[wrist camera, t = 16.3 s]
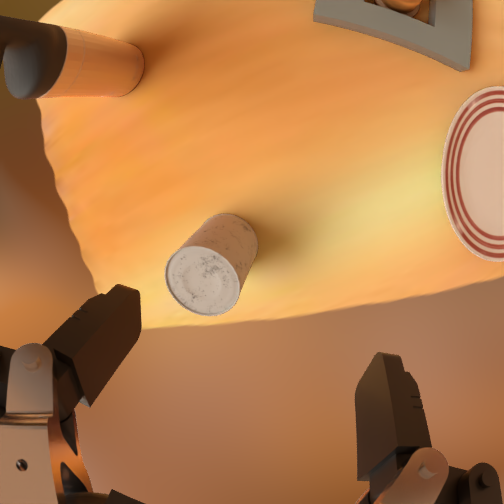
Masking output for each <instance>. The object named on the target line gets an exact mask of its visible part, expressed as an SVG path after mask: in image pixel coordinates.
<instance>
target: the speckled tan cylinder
mask: <svg viewBox="0 0 504 504" xmlns="http://www.w3.org/2000/svg"><path fill="white" fill-rule="evenodd" d="M257 251H258V240H257V236H256V234H255V232H254V230H253V228H252V227H251V226H250V225H249V224H248V223H247V222H246V221H245V220H243V219H242V218H240V217H238V216H235V215H231V214H219V215H215V216H213V217H211V218H209V219H208V220H207V221H205V222H204V224H203V225H202V226H201V227H200V228H199V229H198V230H197V231H196V232H195V233H194V234H193V235H192V236H191V237H190V238H189V239H188V240H187V241H186V242H185V243H184V244H183V245H182V246H181V247H180V248H179V249H178V250H177V251H176V252H175V253H173V254H172V255H171V257H170V258H169V260H168V261H167V264H166V267H165V282H166V285H167V288H168V290H169V292H170V294H171V295H172V297H173V298H174V299H175V300H176V301H177V302H178V303H179V304H180V305H181V306H182V307H184V308H185V309H187V310H189V311H191V312H192V313H195V314H198V315H203V316H217V315H220V314H223V313H225V312H227V311H229V310H230V309H231V308H232V307H233V306H234V305H235V304H236V302H237V300H238V298H239V295H240V292H241V289H242V287H243V284H244V282H245V280H246V277H247V275H248V273H249V270H250V268H251V265H252V263H253V261H254V259H255V257H256V255H257Z"/></svg>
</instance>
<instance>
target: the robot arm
mask: <svg viewBox="0 0 504 504" xmlns="http://www.w3.org/2000/svg"><path fill="white" fill-rule="evenodd" d="M2 60H3V62H4V72H5V80H6V85H7V88H8V89H9V92H10V93H11V94H12V95H13V96H14V97H16V98H19V99H35V98H52V97H83V96H93V97H120V96H123V95H126V94H128V93H129V92H130V91H132V90H133V89H134V88H135V87H136V85H137V84H138V82H139V81H140V79H141V77H142V74H143V70H144V58H143V55H142V53H141V51H140V50H139V49H138V48H137V47H136V46H134V45H132V44H128V43H125V42H122V41H119V40H116V39H112V38H109V37H105V36H101V35H97V34H93V33H89V32H85V31H81V30H77V29H72V28H67V27H62V26H57V25H52V24H46V23H40V22H34V21H27V20H22V19H17V18H11V17H6V16H0V67H1V63H2ZM140 332H141V305H140V293H139V291H138V290H136V289H133V288H130V287H127V286H124V285H121V284H117V285H115V286H114V287H113V288H112V289H111V290H110V291H109V292H108V293H107V294H106V295H105V294H102V293H101V294H99V295H97V296H95V297H93V298H90V299H88V300H87V301H86V302H85V303H84V304H83V305H82V306H81V307H80V308H79V310H77V311H76V312H75V313H74V314H73V315H72V317H70V318H68V320H66V321H65V322H64V323H63V324H62V325H61V326H60V327H59V328H58V329H57V330H56V331H55V332H54V333H53V334H52V335H51V336H50V337H49V338H48V339H47V340H46V341H45V342H44V343H43V344H38V343H29V344H26V345H23V346H21V347H20V348H18V349H17V350H14V349H10V348H7V347H3V346H0V504H144V503H142V502H140V501H137V500H135V499H133V498H130V497H128V496H125V495H123V494H121V493H119V492H117V491H115V490H113V489H112V490H111V492H110V494H109V495H107V494H101V493H94V492H93V488H92V485H91V481H90V478H89V475H88V473H87V470H86V468H85V466H84V462H83V459H82V454H81V449H80V442H79V437H78V429H77V422H76V414H75V409H74V408H75V407H76V405H77V404H78V402H80V403H82V404H84V405H86V406H88V407H91V405H92V404H93V402H94V401H95V399H96V398H97V397H98V395H99V394H100V392H101V391H102V389H103V388H104V386H105V385H106V384H107V382H108V381H109V380H110V378H111V377H112V375H113V374H114V372H115V371H116V369H117V368H118V366H119V365H120V364H121V362H122V361H123V360H124V358H125V357H126V355H127V354H128V353H129V351H130V350H131V349H132V347H133V346H134V344H135V343H136V342H137V340H138V338H139V335H140ZM422 408H423V405H422V400H421V399H420V393H419V389H418V385H417V383H416V381H415V380H414V379H413V377H412V376H411V374H410V373H409V372H405V371H404V367H403V363H402V360H401V357H400V356H399V355H394V354H388V353H381V352H378V353H377V354H376V355H375V356H374V358H373V359H372V362H371V363H370V365H369V366H368V368H367V370H366V371H365V373H364V375H363V376H362V378H361V380H360V381H359V383H358V385H357V388H356V392H355V411H356V431H357V480H358V481H370V488H369V489H367V490H366V491H365V493H364V494H363V495H362V496H361V497H360V498H359V499H358V501H357V502H356V503H355V504H503V503H502V496H501V489H500V483H499V477H498V475H497V472H496V470H495V469H494V468H493V467H492V466H491V465H489V464H487V463H478V464H476V465H475V466H474V467H472V468H471V469H470V470H468V471H467V470H463V469H459V468H455V467H451V466H449V465H448V462H447V460H446V458H445V457H444V455H443V454H442V453H441V452H440V451H438V450H436V449H434V448H432V445H431V441H430V435H429V431H428V426H427V421H426V417H425V413H424V409H422Z"/></svg>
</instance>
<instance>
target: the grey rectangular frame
mask: <svg viewBox="0 0 504 504" xmlns="http://www.w3.org/2000/svg"><path fill="white" fill-rule="evenodd" d="M472 19H473V2H472V0H430V6H429V20H428V24H426V23H424V22H421V21H419V20H416V19H414V18H411V17H409V16H406V15H404V14H401V13H398V12H395V11H393V10H390V9H387V8H384V7H380V6H377V5H374V4H371V3H367V2H364V0H316V3H315V9H314V14H313V21H314V22H319V23H324V24H329V25H333V26H337V27H341V28H345V29H349V30H353V31H357V32H360V33H364V34H367V35H370V36H374V37H377V38H380V39H383V40H386V41H389V42H392V43H395V44H397V45H400V46H403V47H405V48H408V49H411V50H413V51H416V52H418V53H421V54H423V55H425V56H428V57H430V58H432V59H435V60H437V61H439V62H441V63H443V64H445V65H448V66H450V67H452V68H454V69H456V70H458V71H460V72H461V71H464V70H468V69H469V67H470V57H471V44H472Z"/></svg>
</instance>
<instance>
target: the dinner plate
mask: <svg viewBox="0 0 504 504" xmlns="http://www.w3.org/2000/svg"><path fill="white" fill-rule="evenodd" d="M441 183H442V193H443V200H444V205H445V209H446V212H447V216H448V218H449V221H450V223H451V226H452V228H453V230H454V232H455V233H456V235H457V237H458V238H459V239H460V241H461V242H462V243H463V245H464V246H465V247H466V248H467V249H468V250H469V251H470V252H472V253H473V254H475V255H476V256H478V257H480V258H482V259H485V260H488V261H494V262H502V261H504V86H492V87H487V88H484V89H482V90H479V91H477V92H476V93H474V94H473V95H472V96H470V97H469V98H468V99H467V100H466V101H465V102H464V103H463V104H462V106H461V107H460V108H459V110H458V111H457V113H456V115H455V117H454V118H453V121H452V123H451V125H450V128H449V131H448V133H447V137H446V140H445V145H444V150H443V157H442V169H441Z"/></svg>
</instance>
